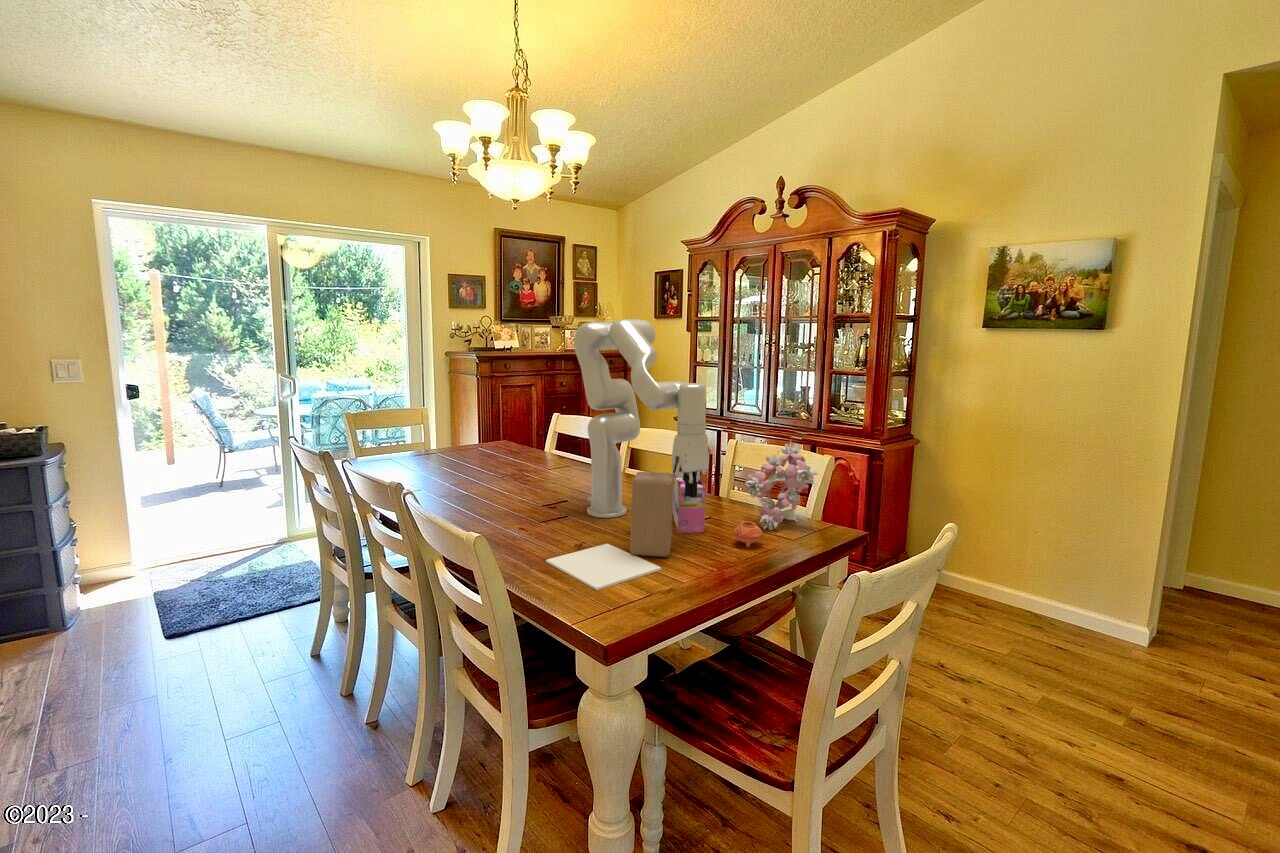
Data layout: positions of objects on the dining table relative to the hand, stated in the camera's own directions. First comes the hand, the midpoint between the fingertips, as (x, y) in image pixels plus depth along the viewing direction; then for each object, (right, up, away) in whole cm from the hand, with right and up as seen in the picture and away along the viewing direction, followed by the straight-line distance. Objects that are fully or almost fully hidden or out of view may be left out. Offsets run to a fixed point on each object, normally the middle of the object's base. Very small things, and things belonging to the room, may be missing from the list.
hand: (691, 496), depth 166 cm
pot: (+15, -13, -1) cm, 20 cm away
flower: (+27, -11, +16) cm, 33 cm away
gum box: (0, -10, +20) cm, 22 cm away
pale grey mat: (-23, -15, -16) cm, 32 cm away
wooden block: (-11, -14, -7) cm, 19 cm away
